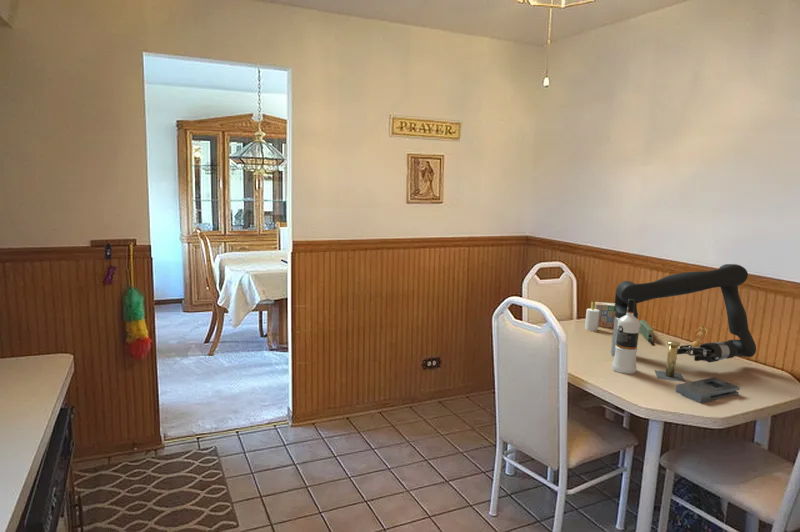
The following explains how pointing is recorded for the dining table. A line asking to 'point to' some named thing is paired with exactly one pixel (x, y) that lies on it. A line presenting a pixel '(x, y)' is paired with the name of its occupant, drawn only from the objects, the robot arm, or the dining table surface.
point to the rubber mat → (676, 377)
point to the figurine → (696, 342)
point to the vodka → (627, 342)
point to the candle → (592, 319)
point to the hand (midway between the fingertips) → (685, 354)
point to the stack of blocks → (606, 314)
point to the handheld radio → (646, 331)
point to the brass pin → (671, 358)
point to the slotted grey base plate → (707, 390)
